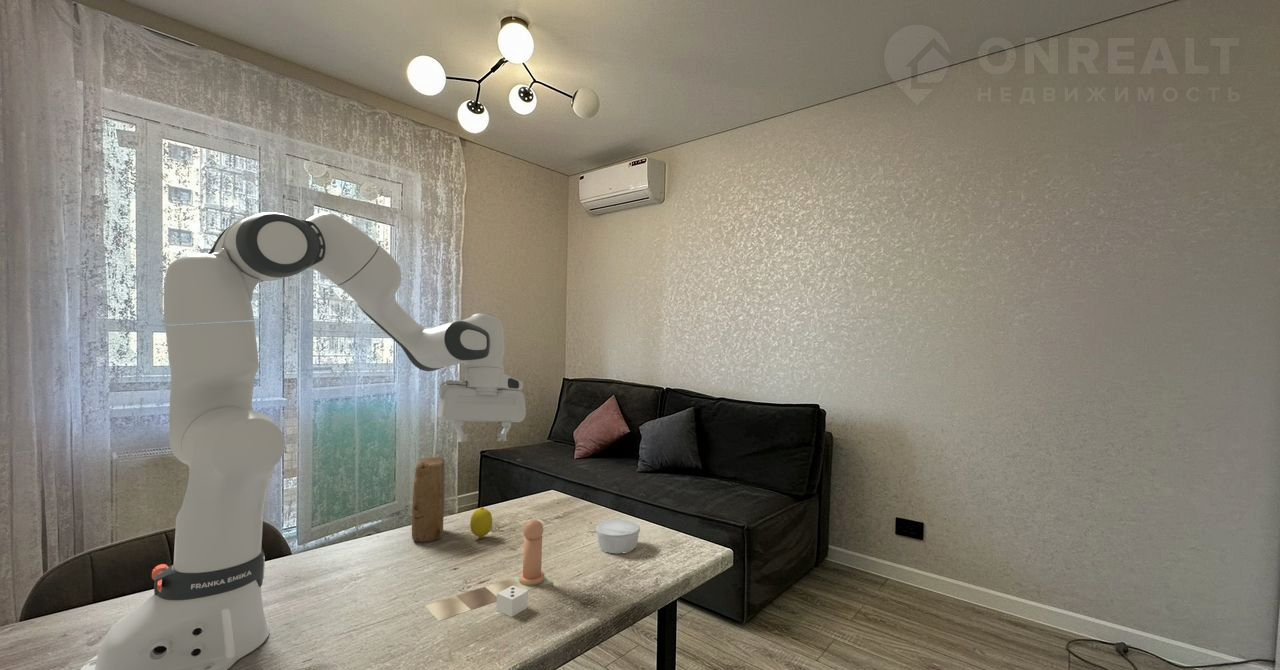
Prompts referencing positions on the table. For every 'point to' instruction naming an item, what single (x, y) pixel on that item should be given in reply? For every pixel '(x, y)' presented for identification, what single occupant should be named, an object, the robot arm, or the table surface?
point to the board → (475, 598)
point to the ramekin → (617, 535)
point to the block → (428, 500)
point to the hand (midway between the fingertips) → (482, 441)
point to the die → (512, 600)
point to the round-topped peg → (532, 554)
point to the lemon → (481, 522)
